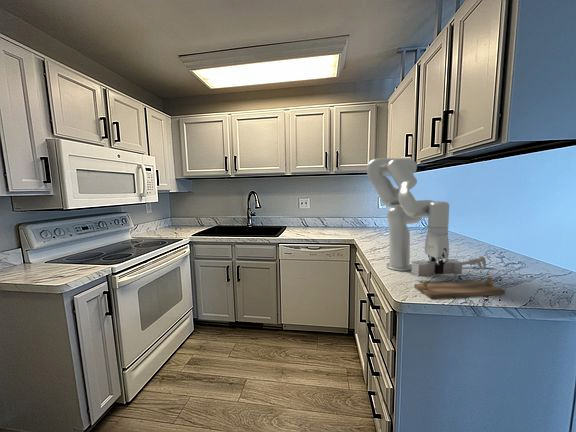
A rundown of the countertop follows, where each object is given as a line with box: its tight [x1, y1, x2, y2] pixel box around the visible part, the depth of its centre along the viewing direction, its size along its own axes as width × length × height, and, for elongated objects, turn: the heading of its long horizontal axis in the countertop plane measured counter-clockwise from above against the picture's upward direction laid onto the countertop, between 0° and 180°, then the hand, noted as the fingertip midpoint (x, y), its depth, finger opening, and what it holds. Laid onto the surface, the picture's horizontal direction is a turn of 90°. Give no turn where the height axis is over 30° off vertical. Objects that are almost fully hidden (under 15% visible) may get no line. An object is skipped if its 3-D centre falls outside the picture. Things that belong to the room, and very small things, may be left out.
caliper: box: [461, 254, 487, 269], centre depth 129 cm, size 20×1×6 cm, turn 83°
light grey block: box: [411, 258, 463, 278], centre depth 112 cm, size 6×19×5 cm, turn 93°
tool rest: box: [413, 276, 506, 300], centre depth 100 cm, size 11×28×4 cm, turn 93°
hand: (436, 271), depth 112 cm, fingers closed on light grey block, 3 cm apart
